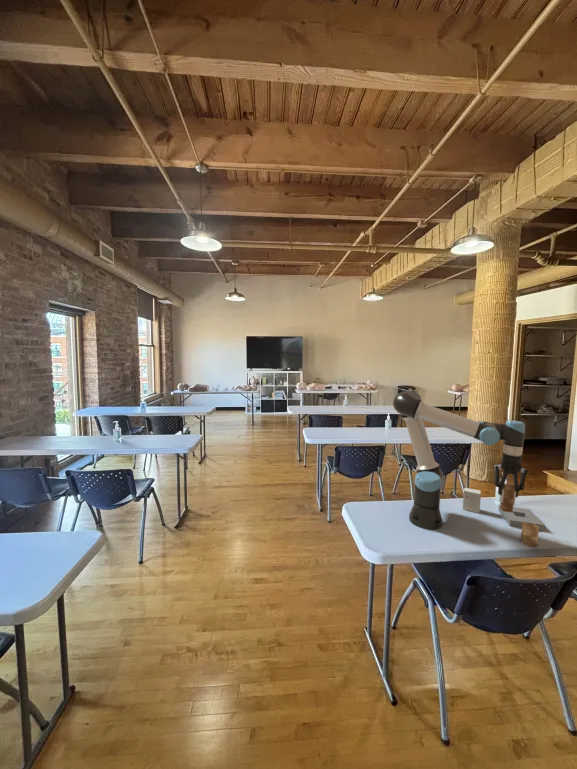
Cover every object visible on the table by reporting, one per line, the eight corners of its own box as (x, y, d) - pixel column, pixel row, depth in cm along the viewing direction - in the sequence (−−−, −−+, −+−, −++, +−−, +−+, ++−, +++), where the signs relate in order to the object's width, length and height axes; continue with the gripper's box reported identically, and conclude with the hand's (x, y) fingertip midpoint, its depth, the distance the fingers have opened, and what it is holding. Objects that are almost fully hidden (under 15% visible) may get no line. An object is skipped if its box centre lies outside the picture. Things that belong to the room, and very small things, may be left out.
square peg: (502, 511, 157) (505, 486, 156) (499, 507, 161) (502, 483, 160) (512, 512, 156) (515, 487, 155) (509, 509, 160) (512, 484, 159)
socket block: (509, 526, 163) (510, 520, 163) (498, 510, 180) (498, 505, 180) (543, 531, 159) (544, 525, 159) (528, 514, 176) (529, 509, 176)
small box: (479, 509, 181) (481, 490, 180) (479, 513, 176) (480, 493, 175) (463, 505, 185) (464, 487, 184) (462, 509, 180) (463, 490, 179)
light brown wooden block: (523, 545, 146) (525, 527, 145) (518, 538, 152) (520, 521, 151) (539, 548, 144) (541, 529, 144) (534, 541, 150) (535, 523, 149)
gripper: (493, 453, 155) (488, 502, 157) (537, 458, 150) (531, 509, 152) (489, 449, 163) (484, 496, 165) (530, 454, 158) (524, 502, 160)
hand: (506, 502), depth 158 cm, fingers closed on square peg, 4 cm apart
